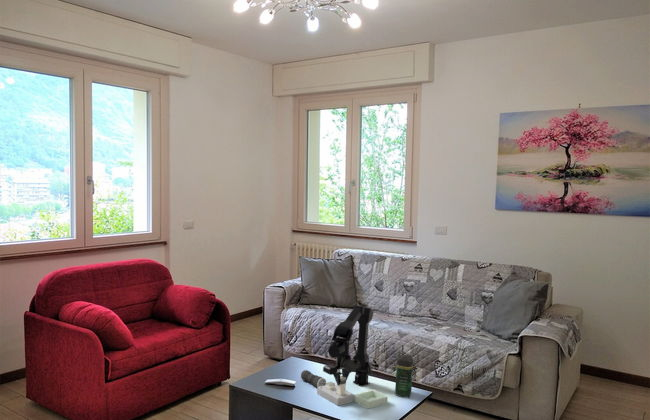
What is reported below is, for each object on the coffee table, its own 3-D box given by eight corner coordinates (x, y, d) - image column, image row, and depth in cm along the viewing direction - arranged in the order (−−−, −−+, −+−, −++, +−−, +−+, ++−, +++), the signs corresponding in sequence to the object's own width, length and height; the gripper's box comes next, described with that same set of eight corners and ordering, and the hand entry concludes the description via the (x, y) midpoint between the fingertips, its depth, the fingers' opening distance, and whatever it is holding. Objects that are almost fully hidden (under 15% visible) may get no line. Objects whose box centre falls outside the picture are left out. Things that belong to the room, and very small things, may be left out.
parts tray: (372, 395, 245) (373, 389, 245) (387, 403, 237) (387, 396, 237) (354, 400, 238) (354, 394, 238) (368, 408, 230) (368, 402, 230)
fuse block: (333, 389, 251) (333, 382, 250) (354, 400, 238) (354, 393, 238) (316, 393, 244) (317, 386, 244) (337, 405, 232) (337, 398, 232)
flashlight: (299, 380, 261) (299, 370, 261) (307, 378, 264) (308, 368, 264) (317, 390, 249) (318, 379, 249) (326, 388, 252) (326, 377, 252)
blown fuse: (341, 392, 240) (342, 375, 240) (345, 394, 238) (346, 378, 237) (336, 393, 238) (336, 377, 238) (340, 396, 236) (341, 379, 235)
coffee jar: (410, 398, 244) (412, 360, 243) (393, 396, 246) (395, 358, 246) (412, 391, 253) (414, 354, 252) (396, 389, 255) (398, 352, 255)
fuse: (330, 392, 246) (331, 381, 246) (334, 394, 244) (335, 383, 244) (325, 394, 245) (326, 382, 244) (329, 396, 242) (330, 384, 242)
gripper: (338, 360, 225) (336, 394, 226) (369, 353, 236) (367, 386, 237) (323, 353, 234) (321, 386, 234) (353, 347, 245) (352, 379, 246)
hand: (341, 384), depth 238 cm, fingers closed on blown fuse, 3 cm apart
